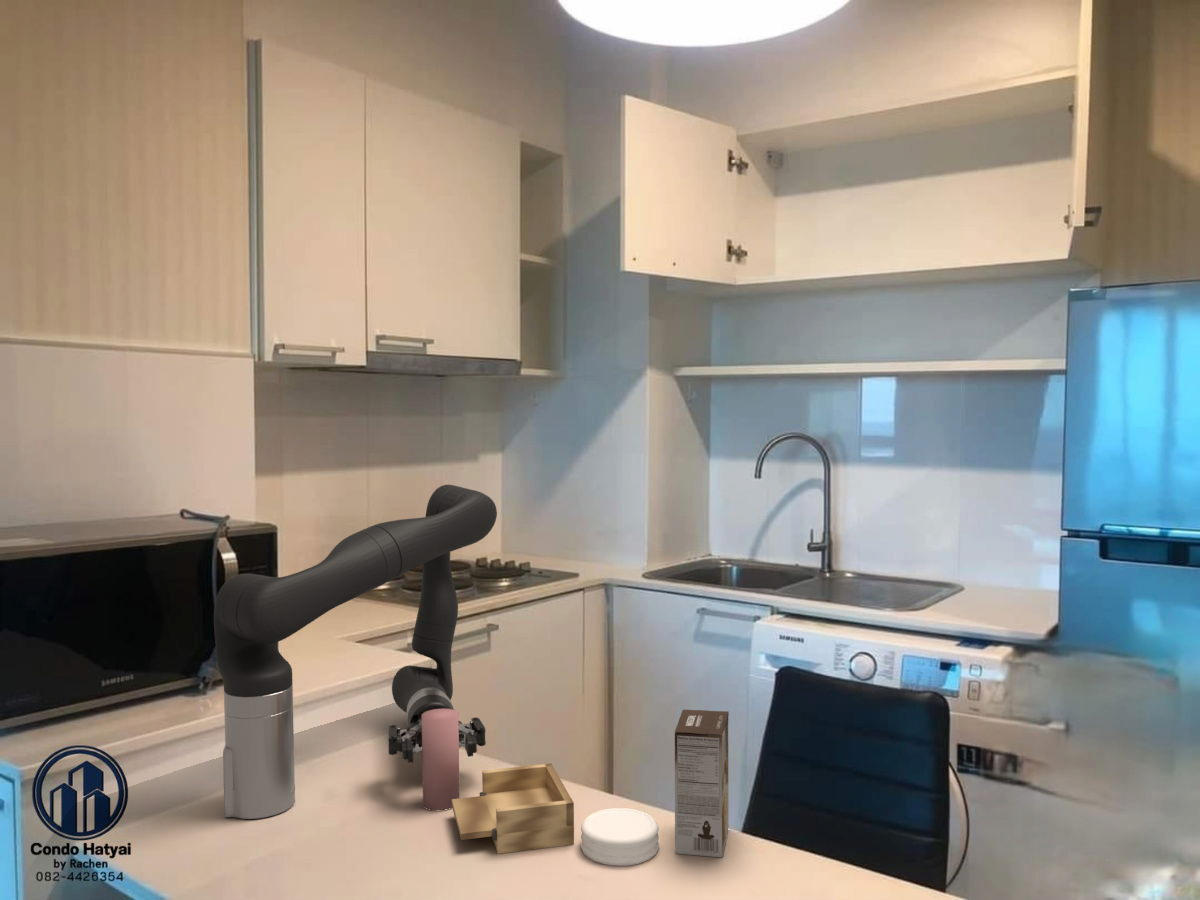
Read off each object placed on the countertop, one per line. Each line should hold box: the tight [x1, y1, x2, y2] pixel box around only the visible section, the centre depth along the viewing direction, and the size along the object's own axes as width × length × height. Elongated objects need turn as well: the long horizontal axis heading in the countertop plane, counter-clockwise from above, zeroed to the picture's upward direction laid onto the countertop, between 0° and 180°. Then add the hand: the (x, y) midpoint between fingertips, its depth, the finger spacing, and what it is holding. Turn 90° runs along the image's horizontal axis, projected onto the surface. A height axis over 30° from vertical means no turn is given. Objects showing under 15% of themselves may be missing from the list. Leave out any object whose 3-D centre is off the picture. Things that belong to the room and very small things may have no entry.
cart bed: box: [452, 763, 575, 855], centre depth 127 cm, size 14×14×6 cm
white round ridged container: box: [580, 807, 660, 867], centre depth 122 cm, size 10×10×4 cm
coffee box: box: [674, 709, 729, 858], centre depth 123 cm, size 9×6×16 cm
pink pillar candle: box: [421, 709, 460, 811], centre depth 135 cm, size 5×5×13 cm
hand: (441, 752), depth 135 cm, fingers open, 8 cm apart
